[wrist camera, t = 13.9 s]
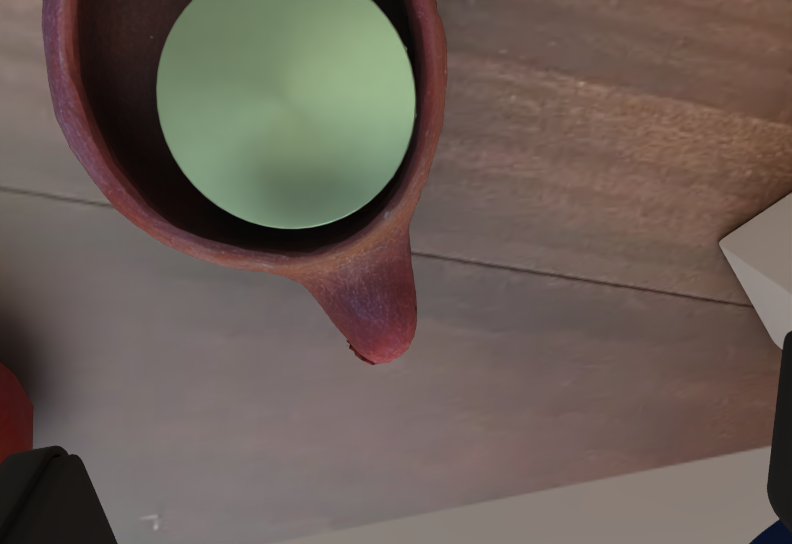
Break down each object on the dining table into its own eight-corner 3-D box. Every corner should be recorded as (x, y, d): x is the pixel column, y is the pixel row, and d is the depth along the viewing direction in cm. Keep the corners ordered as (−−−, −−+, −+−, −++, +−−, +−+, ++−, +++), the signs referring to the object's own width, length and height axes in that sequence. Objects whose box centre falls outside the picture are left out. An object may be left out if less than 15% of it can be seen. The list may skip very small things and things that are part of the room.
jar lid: (213, -66, 18) (198, -83, 16) (444, 30, 19) (455, 24, 17) (145, 171, 20) (125, 179, 18) (363, 247, 21) (364, 262, 19)
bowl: (25, 78, 25) (-95, 122, 18) (207, -246, 22) (149, -355, 14) (365, 296, 30) (379, 398, 23) (554, 64, 27) (641, 99, 20)
